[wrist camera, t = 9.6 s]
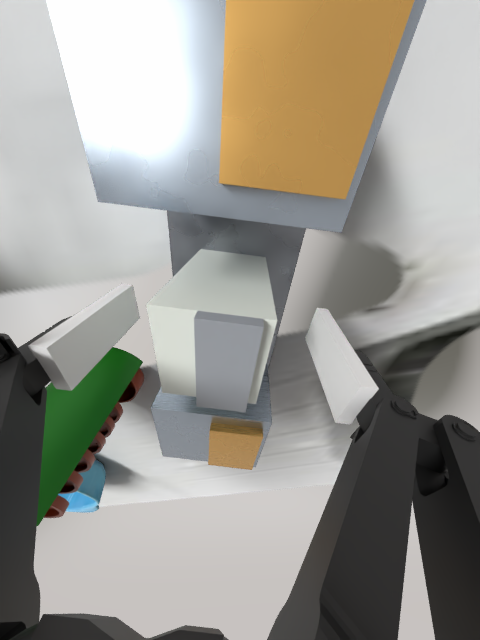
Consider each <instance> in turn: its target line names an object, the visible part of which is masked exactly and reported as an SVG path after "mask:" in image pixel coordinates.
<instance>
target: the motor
mask: <svg viewBox="0 0 480 640" xmlns="http://www.w3.org/2000/svg"><path fill="white" fill-rule="evenodd" d="M142 363H143V362H142V361H141V360H140V359H138V358H137V357H135V356H134V355H132V354H130V353H128V352H126V351H124V350H121V349H118V348H114V347H112V348H111V349H110V350H109V351H108V352H107V354H106V355H105V356H104V357H103V358H102V359H101V360H100V361H99V362H98V363H97V364H96V365H95V366H94V367H93V369H92V370H91V371H90V372H89V373H88V374H87V375H86V376H85V377H84V378H83V379H82V380H81V381H80V382H79V384H78V385H77V386H76V387H75V388H74V389H73V390H72V391H69V390H61V389H56V388H55V387H54V385H53V384H52V382H51V383H50V384H49V385H48V386H47V387H46V390H47V400H46V413H45V425H44V438H43V450H42V463H41V475H40V488H39V500H38V513H37V525H36V526H38V525H39V524H40V522H41V521H42V519H43V518H56V517H61V516H63V514H64V513H65V511H66V509H67V508H68V506H69V502H68V501H67V500H66V499H65V498H63V497H61V496H59V495H58V494H69V493H74V492H76V491H77V490H78V489H79V487H80V485H81V484H82V482H83V477H82V476H81V475H80V474H79V473H82V472H86V471H88V470H90V468H91V467H92V465H93V463H94V461H95V456H94V455H93V454H96V453H98V452H100V451H101V449H102V448H103V446H104V444H105V442H106V440H105V438H106V437H108V436H109V435H110V434H111V432H112V431H113V429H114V427H115V423H116V422H117V421H118V420H119V419H120V417H121V415H122V413H123V409H122V406H121V405H120V403H123V402H128V401H131V400H132V399H134V397H135V396H136V394H137V393H138V391H139V389H140V387H141V385H142V384H143V382H144V375H143V373H142V371H141V369H140V366H141V364H142Z"/></svg>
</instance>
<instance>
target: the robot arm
mask: <svg viewBox="0 0 480 640" xmlns="http://www.w3.org/2000/svg"><path fill="white" fill-rule="evenodd" d="M139 318H140V316H139V312H138V307H137V302H136V298H135V294H134V289H133V285H130V284H123V283H122V284H120V285H119V286H117V287H116V288H114V289H113V290H111V291H110V292H108V293H107V294H105V295H104V296H102V297H101V298H99V299H98V300H96V301H95V302H93V303H92V304H90V305H89V306H87V307H86V308H84V309H83V310H81V311H80V312H78V313H77V314H75V315H74V316H71V317H69V318H66V319H63V320H61V321H60V322H58V323H56V324H55V325H53V326H52V327H50V328H49V329H47V330H46V331H45V332H42V333H41V334H39V335H38V336H36V337H35V338H33V339H32V340H30V341H28V342H27V343H25V344H24V345H22V346H21V347H19V348H17V347H16V345H15V344H14V342H13V341H12V339H11V338H10V337H9V336H8V335H6V334H0V640H228V639H227V638H225V637H224V635H223V634H222V632H221V631H220V630H219V629H213V628H204V627H196V626H187V625H185V626H182V627H179V628H177V629H174V630H171V631H168V632H166V633H163V634H160V635H157V636H155V637H152V638H144V637H142V636H141V635H140V634H139V633H137V632H136V631H134V630H133V629H132V628H130V627H129V626H128V625H126V624H125V623H123V622H122V621H121V620H119V619H118V618H116V617H108V616H99V615H90V614H43V616H42V618H41V620H40V622H39V615H40V590H39V584H38V582H37V579H36V577H35V574H34V566H33V565H34V549H35V536H36V525H37V513H38V500H39V488H40V475H41V463H42V450H43V438H44V425H45V413H46V400H47V390H46V388H45V385H47V384H48V383H49V382H50V381H51V382H52V384H53V385H54V387H55V388H56V389H61V390H69V391H72V390H73V389H74V388H75V387H76V386H77V385H78V384H79V382H80V381H81V380H82V379H83V378H84V377H85V376H86V375H87V374H88V373H89V372H90V371H91V370H92V369H93V367H94V366H95V365H96V364H97V363H98V362H99V361H100V360H101V359H102V358H103V357H104V356H105V355H106V354H107V352H108V351H109V350H110V349H111V348H112V347H113V346H114V345H115V344H116V343H117V342H118V340H120V339H121V338H122V336H123V335H124V334H125V333H126V332H127V331H128V330H129V329H130V328H131V327H132V326H133V325H134V323H135V322H136V321H137V320H138V319H139ZM305 339H306V342H307V345H308V348H309V350H310V353H311V356H312V359H313V362H314V364H315V367H316V370H317V373H318V376H319V378H320V381H321V384H322V387H323V390H324V392H325V395H326V398H327V401H328V404H329V406H330V409H331V412H332V415H333V418H334V421H335V423H342V424H350V425H351V424H352V422H353V421H354V420H355V419H356V418H357V420H358V422H359V425H360V426H359V427H358V428H357V430H356V431H355V432H354V433H353V434H352V436H351V437H350V438H352V439H353V440H352V442H351V445H350V447H349V450H348V452H347V455H346V457H345V460H344V462H343V465H342V467H341V470H340V472H339V475H338V477H337V480H336V482H335V485H334V487H333V489H332V492H331V494H330V497H329V499H328V502H327V504H326V507H325V510H324V512H323V514H322V517H321V520H320V522H319V524H318V527H317V529H316V532H315V534H314V537H313V539H312V542H311V544H310V547H309V549H308V552H307V554H306V557H305V559H304V561H303V564H302V566H301V569H300V571H299V574H298V576H297V579H296V581H295V584H294V586H293V589H292V591H291V594H290V596H289V598H288V600H287V602H286V603H285V605H284V607H283V608H282V610H281V611H280V613H279V615H278V617H277V619H276V621H275V623H274V625H273V627H272V630H271V632H270V634H269V637H268V639H267V640H397V638H398V630H399V621H400V611H401V601H402V592H403V582H404V573H405V563H406V553H407V544H408V535H409V524H410V516H411V506H412V501H413V507H414V513H415V519H416V525H417V532H418V537H419V544H420V550H421V555H422V562H423V568H424V574H425V579H426V586H427V591H428V598H429V604H430V610H431V616H432V622H433V628H434V634H435V640H480V432H479V431H478V430H477V429H475V428H474V427H473V426H472V425H470V424H469V423H467V422H466V421H464V420H462V419H460V418H458V417H455V416H452V415H445V416H443V417H442V418H441V419H439V420H435V419H432V418H430V417H427V416H424V415H422V414H419V413H418V411H417V410H416V408H415V407H414V406H413V405H411V404H410V403H409V402H408V401H406V400H405V399H403V398H401V397H399V396H397V395H394V394H393V393H392V392H391V390H390V389H389V387H388V386H387V384H386V383H385V382H384V380H383V379H382V377H381V376H380V374H379V373H377V370H376V369H375V367H374V366H373V364H372V363H371V362H370V360H369V359H368V357H366V356H365V355H364V354H363V353H362V352H361V351H357V350H354V349H353V348H352V346H351V345H350V343H349V342H348V340H347V339H346V337H345V335H344V334H343V332H342V331H341V329H340V328H339V326H338V325H337V323H336V321H335V320H334V318H333V317H332V315H331V314H330V312H329V311H328V309H323V308H316V311H315V314H314V316H313V319H312V322H311V324H310V327H309V330H308V332H307V335H306V338H305Z"/></svg>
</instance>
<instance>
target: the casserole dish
mask: <svg viewBox="0 0 480 640" xmlns="http://www.w3.org/2000/svg"><path fill="white" fill-rule="evenodd" d="M79 474H80V475H81V476H82V477H83V482H82V484H81V485H80V487H79V489H78V490H77V491H76V492H74V493H69V494H58V495H59V496H61V497H63V498H65V499H66V500H67V501H68V502H69V506H68V508H67V509H66V511H68V512H94V511H96V510H98V509H99V506H98V504H99V502H100V499H101V495H102V491H103V487H104V483H105V477H106V472H105V469H104V466H103V464H102V463H100V462H99V461H97V460H95V461H94V463H93V465H92V467H91V468H90V470H88V471H86V472H82V473H79Z"/></svg>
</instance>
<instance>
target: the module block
mask: <svg viewBox="0 0 480 640" xmlns="http://www.w3.org/2000/svg"><path fill="white" fill-rule="evenodd" d="M146 307H147V313H148V318H149V324H150V329H151V334H152V340H153V345H154V351H155V356H156V362H157V367H158V372H159V378H160V383H161V389H162V393H168V394H177V395H185V396H193V397H196V405H197V407H205V408H213V409H221V410H229V411H238V412H246V408H247V403H251V404H256V402H257V398H258V394H259V390H260V386H261V382H262V378H263V374H264V370H265V366H266V363H267V359H268V355H269V351H270V347H271V343H272V339H273V335H274V331H275V327H276V324H277V316H276V311H275V305H274V300H273V295H272V289H271V284H270V278H269V273H268V267H267V262H266V257H261V256H253V255H245V254H237V253H229V252H221V251H213V250H205V249H200V250H199V251H198V252H197V253H196V254H195V255H194V256H193V257H192V258H191V259H190V260H189V261H188V262H187V263H186V264H185V265H184V266H183V267H182V268H181V269H180V270H179V272H178V273H177V274H176V275H175V276H174V277H173V278H172V279H171V280H170V281H169V282H168V283H167V284H166V285H165V286H164V287H163V288H162V289H161V290H160V291H159V292H158V293H157V294H156V295H155V296H154V297H153V298H152V299H151V300H150V301H149V302H148V303H147V304H146Z"/></svg>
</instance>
